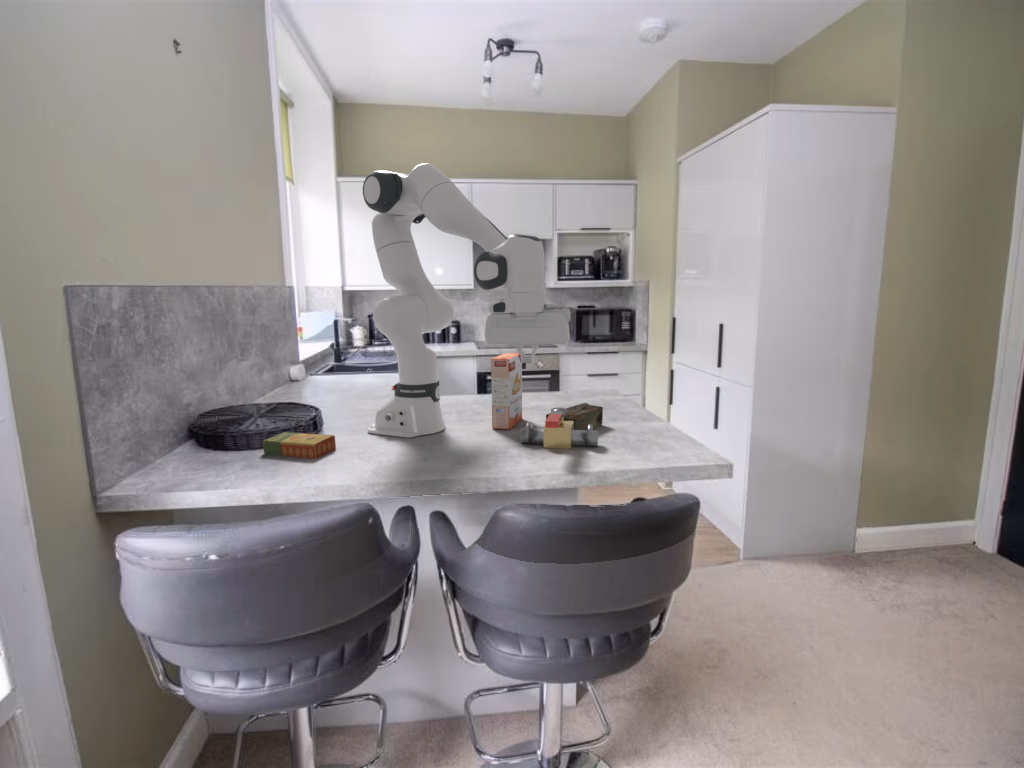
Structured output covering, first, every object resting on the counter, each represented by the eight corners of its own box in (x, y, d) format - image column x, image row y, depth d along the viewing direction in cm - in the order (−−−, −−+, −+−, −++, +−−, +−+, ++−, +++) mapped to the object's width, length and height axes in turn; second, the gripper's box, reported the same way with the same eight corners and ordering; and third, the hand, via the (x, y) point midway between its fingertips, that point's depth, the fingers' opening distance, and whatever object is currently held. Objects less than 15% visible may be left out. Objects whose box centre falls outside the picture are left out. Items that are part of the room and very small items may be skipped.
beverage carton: (604, 425, 152) (604, 404, 151) (568, 441, 138) (568, 417, 137) (581, 421, 157) (581, 400, 156) (544, 436, 143) (543, 413, 142)
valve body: (518, 446, 134) (518, 417, 132) (524, 438, 140) (523, 411, 139) (596, 450, 129) (597, 420, 128) (598, 442, 136) (598, 413, 134)
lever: (552, 412, 136) (552, 406, 135) (567, 413, 135) (567, 407, 134) (543, 427, 122) (543, 420, 121) (559, 428, 121) (559, 421, 121)
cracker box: (511, 430, 149) (509, 358, 145) (491, 429, 150) (489, 358, 146) (523, 418, 162) (522, 352, 158) (505, 417, 163) (503, 352, 160)
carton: (315, 460, 127) (314, 443, 126) (263, 455, 132) (261, 439, 131) (336, 450, 135) (335, 434, 134) (286, 445, 140) (284, 430, 139)
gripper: (572, 303, 122) (572, 361, 125) (489, 304, 127) (490, 360, 130) (568, 304, 116) (569, 365, 119) (481, 305, 121) (483, 364, 124)
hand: (527, 362), depth 124 cm, fingers closed
